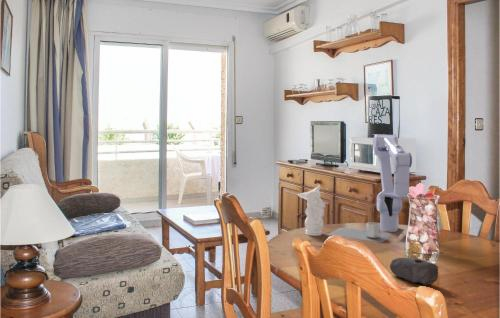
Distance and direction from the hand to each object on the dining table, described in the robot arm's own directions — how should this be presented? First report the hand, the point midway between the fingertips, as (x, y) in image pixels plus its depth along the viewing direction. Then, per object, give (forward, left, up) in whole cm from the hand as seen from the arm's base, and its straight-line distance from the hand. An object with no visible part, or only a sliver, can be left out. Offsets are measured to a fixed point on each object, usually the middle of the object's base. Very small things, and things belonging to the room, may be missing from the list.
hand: (400, 217), depth 174 cm
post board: (+1, -16, -10) cm, 19 cm away
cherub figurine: (+9, -35, -11) cm, 38 cm away
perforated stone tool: (+43, +13, -11) cm, 46 cm away
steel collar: (+3, -10, -8) cm, 13 cm away
